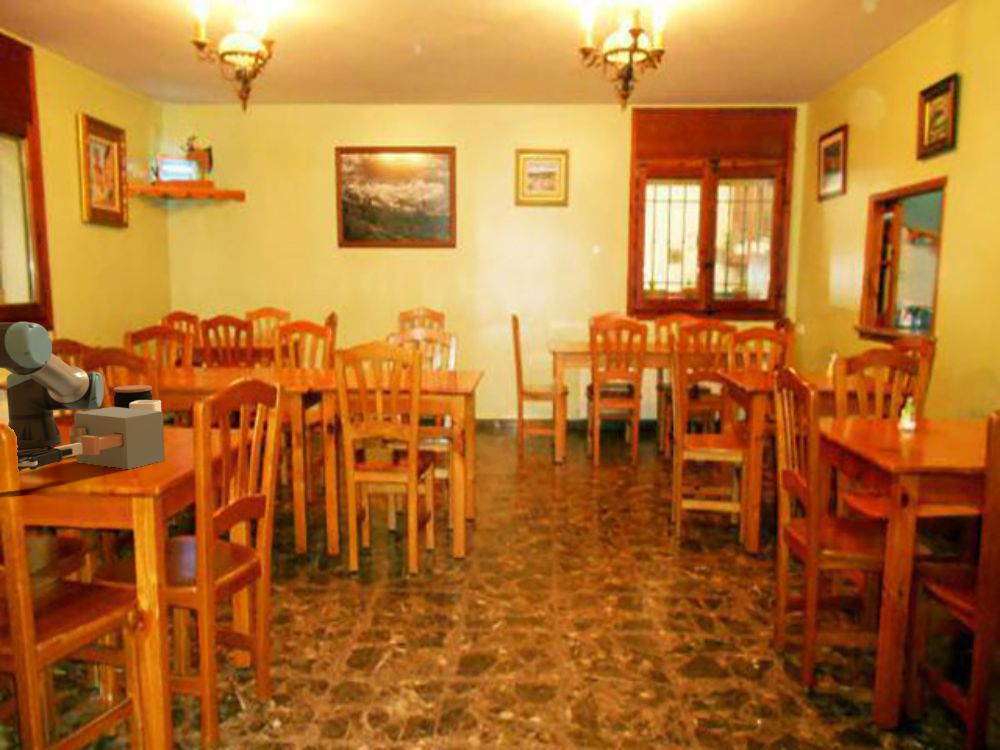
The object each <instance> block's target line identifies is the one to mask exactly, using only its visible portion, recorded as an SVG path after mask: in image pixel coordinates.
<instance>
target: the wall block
mask: <svg viewBox="0 0 1000 750" xmlns="http://www.w3.org/2000/svg"><path fill="white" fill-rule="evenodd" d="M163 412H164V411H162V410H161V411H152V410H141V409H131V408H120V407H114V406H109V407H103V408H97V409H91V410H84V411H83V410H82V411H77V412H76V411H75V412H74V413H73V419H74V421H73V422H74V427H81V428H86V430H87V435H88V436H97V437H101V436H107V435H112V434H117V433H120V434H123V445H121V446H116V447H111V448H107V449H102V450H99V452H100V454H99V455H87V454H79V455H76V463H77V462H81V463H80V464H83V463H89V464H88V465H90V464H95V465H94V466H97V465H101V466H100V467H104V466H108V467H107V468H111V467H116V468H115V469H118V468H123V469H122V470H125V469H130V470H132V468H134V469H137V468H136V467H138V468H141V467H140V466H142V467H145V466H144V465H146V466H149V465H148V464H150V465H153V464H152V463H154V464H157V463H156V462H158V463H161V461H162V462H164V461H166V455H165V454H166V453H165V434H164V432H165V430H164V413H163Z"/></svg>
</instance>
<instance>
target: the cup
mask: <svg viewBox="0 0 1000 750" xmlns="http://www.w3.org/2000/svg"><path fill="white" fill-rule="evenodd" d="M129 408H131V409H141V410H152V411H162V401H161V400H160V399H152V400H138V401H134V402H131V403H129Z"/></svg>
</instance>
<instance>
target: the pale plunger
mask: <svg viewBox="0 0 1000 750" xmlns="http://www.w3.org/2000/svg"><path fill="white" fill-rule="evenodd" d="M68 433H69V444H74V443H81V436H85V435H87V430H86V428H81V427H75V426H72V427H71V426H70V427H68Z"/></svg>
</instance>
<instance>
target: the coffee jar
mask: <svg viewBox="0 0 1000 750" xmlns="http://www.w3.org/2000/svg"><path fill="white" fill-rule="evenodd" d="M152 389H153V386H152V385H147V384H145V385H144V384H139V385H138V384H134V385H133V384H132V385H122V386H116V387H114V388H113V392H114V393H115V394H114V395H113V407H120V408H129V403H131V402H134V401H138V400H153V394H152V393H151V392H152Z"/></svg>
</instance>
